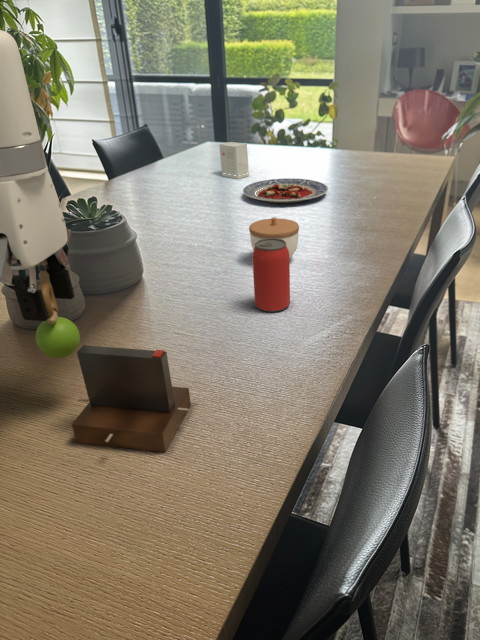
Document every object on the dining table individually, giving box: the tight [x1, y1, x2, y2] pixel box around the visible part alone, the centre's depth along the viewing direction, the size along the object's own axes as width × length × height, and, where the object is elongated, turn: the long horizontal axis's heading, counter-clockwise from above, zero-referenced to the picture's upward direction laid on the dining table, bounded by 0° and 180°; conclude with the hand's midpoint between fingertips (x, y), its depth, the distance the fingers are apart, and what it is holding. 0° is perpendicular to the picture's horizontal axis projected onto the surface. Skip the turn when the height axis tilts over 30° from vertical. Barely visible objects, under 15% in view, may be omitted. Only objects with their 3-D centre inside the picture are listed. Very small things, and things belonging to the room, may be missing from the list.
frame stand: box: [71, 386, 192, 453], centre depth 72 cm, size 15×15×3 cm
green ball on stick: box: [35, 261, 81, 359], centre depth 71 cm, size 5×6×12 cm
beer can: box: [251, 238, 291, 313], centre depth 99 cm, size 7×7×12 cm
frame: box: [76, 344, 175, 413], centre depth 69 cm, size 11×2×8 cm, turn 79°
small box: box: [219, 141, 250, 180], centre depth 188 cm, size 8×6×10 cm
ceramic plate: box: [242, 178, 329, 204], centre depth 167 cm, size 26×26×3 cm
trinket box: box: [248, 217, 300, 259], centre depth 120 cm, size 11×11×9 cm
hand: (49, 307), depth 70 cm, fingers closed on green ball on stick, 5 cm apart
